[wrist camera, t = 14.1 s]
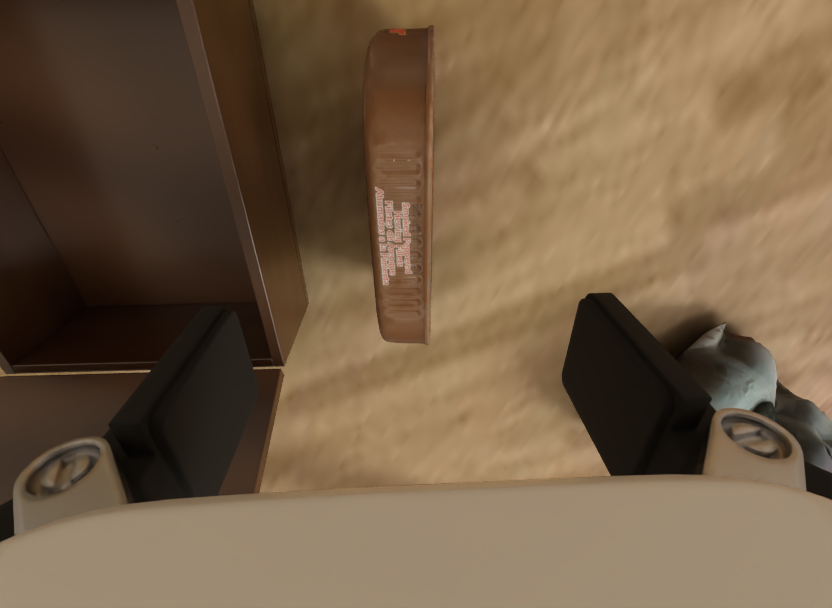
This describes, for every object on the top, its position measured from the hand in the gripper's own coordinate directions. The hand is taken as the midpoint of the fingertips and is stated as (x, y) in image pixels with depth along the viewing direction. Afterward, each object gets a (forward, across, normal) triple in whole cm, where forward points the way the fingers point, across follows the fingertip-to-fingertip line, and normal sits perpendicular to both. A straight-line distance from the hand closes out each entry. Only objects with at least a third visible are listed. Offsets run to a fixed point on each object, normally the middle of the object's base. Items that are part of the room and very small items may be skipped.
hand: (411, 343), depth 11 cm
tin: (+15, 0, 0) cm, 15 cm away
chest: (+15, +14, -1) cm, 21 cm away
